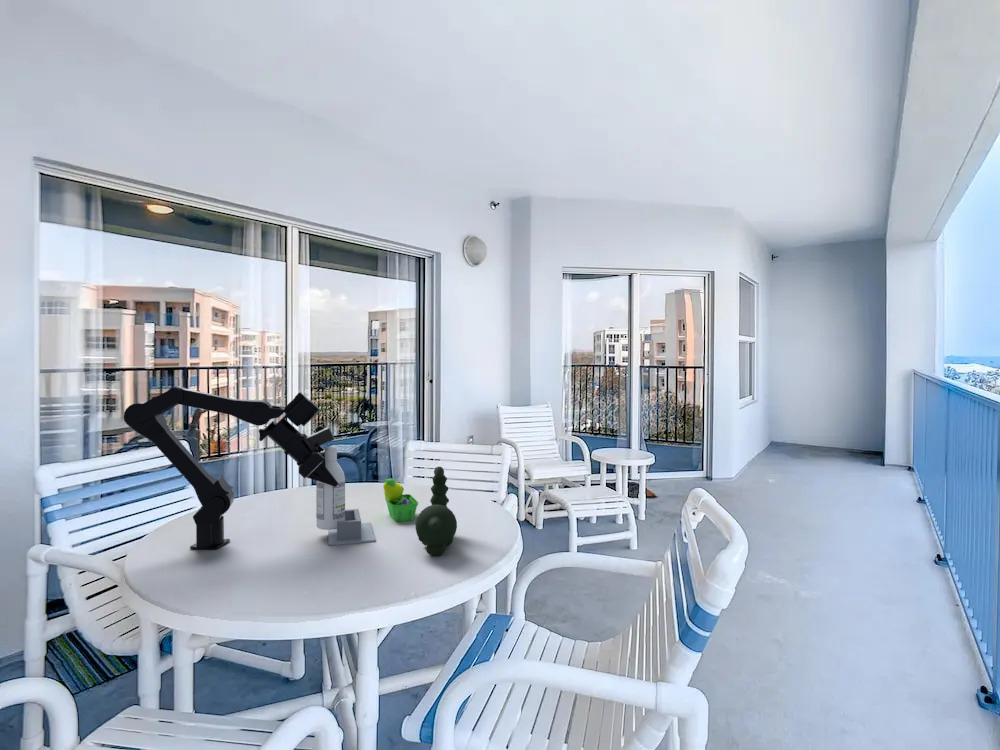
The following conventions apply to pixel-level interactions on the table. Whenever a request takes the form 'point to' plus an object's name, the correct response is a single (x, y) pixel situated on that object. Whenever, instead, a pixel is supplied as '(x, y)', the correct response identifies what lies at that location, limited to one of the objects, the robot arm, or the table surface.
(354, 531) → the gray square holder
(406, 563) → the table surface
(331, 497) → the bath foam
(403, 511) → the fruit basket
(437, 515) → the dark green ornament
